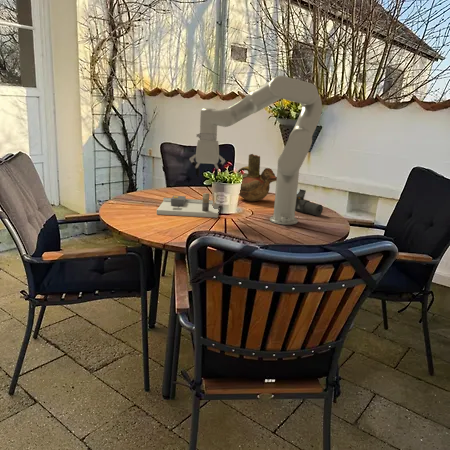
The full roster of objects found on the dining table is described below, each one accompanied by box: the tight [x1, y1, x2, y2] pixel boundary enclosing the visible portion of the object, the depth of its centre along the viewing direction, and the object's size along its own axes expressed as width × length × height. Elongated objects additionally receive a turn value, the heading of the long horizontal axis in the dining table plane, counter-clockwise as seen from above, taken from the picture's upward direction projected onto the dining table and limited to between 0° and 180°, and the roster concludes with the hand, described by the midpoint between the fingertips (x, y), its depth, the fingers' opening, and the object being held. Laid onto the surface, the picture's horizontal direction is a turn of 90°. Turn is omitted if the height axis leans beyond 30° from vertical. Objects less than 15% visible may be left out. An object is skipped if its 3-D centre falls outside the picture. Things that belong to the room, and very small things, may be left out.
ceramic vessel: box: [237, 153, 277, 202], centre depth 227 cm, size 17×26×25 cm, turn 61°
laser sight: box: [295, 188, 324, 217], centre depth 212 cm, size 10×22×10 cm, turn 40°
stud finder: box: [170, 195, 187, 206], centre depth 205 cm, size 8×6×3 cm
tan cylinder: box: [202, 192, 210, 211], centre depth 195 cm, size 3×3×8 cm
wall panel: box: [156, 197, 220, 218], centre depth 203 cm, size 24×28×4 cm
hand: (206, 176), depth 191 cm, fingers open, 7 cm apart
